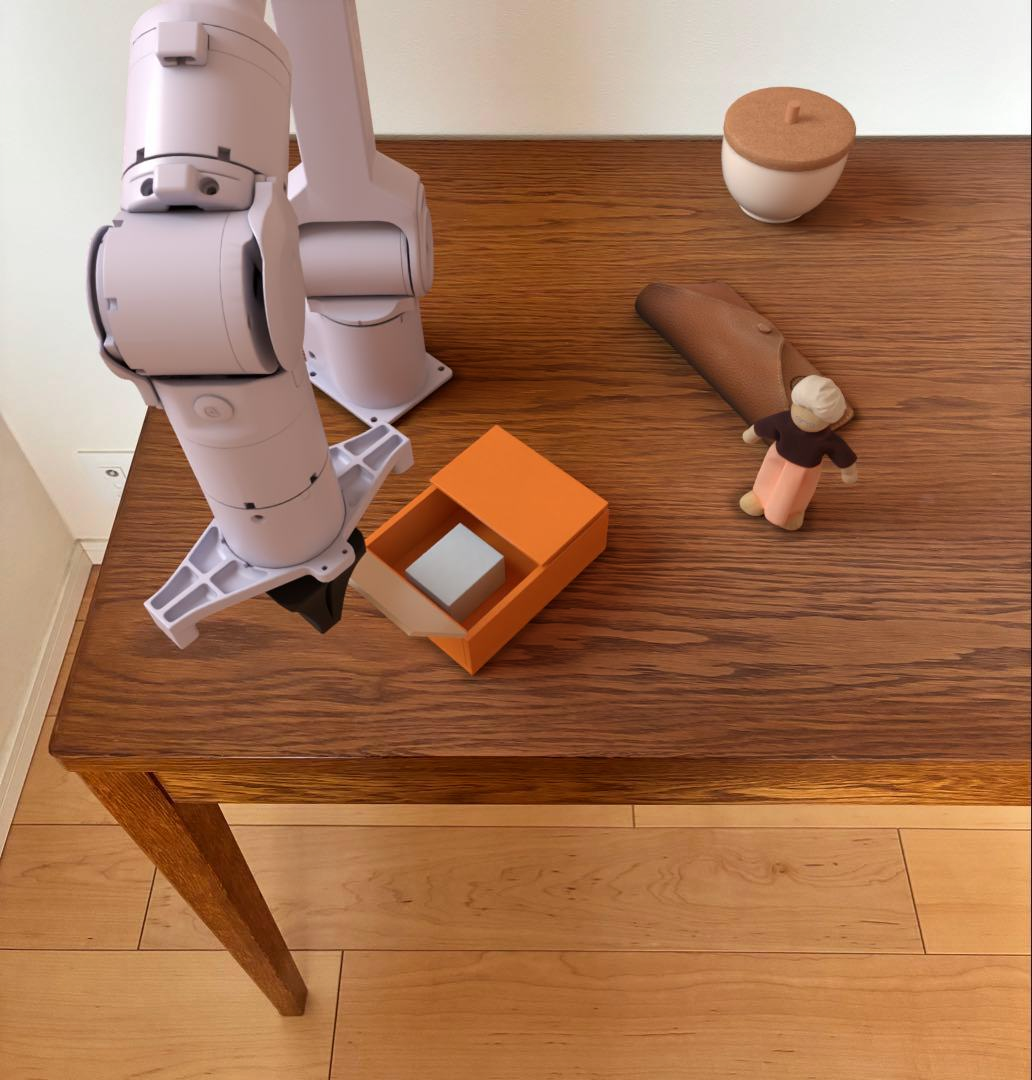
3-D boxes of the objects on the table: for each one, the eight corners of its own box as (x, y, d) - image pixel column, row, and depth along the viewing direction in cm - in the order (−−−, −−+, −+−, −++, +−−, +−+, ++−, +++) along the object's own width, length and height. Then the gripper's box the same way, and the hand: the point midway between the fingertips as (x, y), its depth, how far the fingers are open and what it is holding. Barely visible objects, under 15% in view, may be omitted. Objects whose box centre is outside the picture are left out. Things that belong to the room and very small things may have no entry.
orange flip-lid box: (472, 675, 62) (467, 635, 57) (365, 585, 66) (353, 540, 61) (606, 548, 67) (610, 502, 63) (499, 471, 71) (496, 423, 67)
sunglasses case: (865, 411, 73) (850, 375, 67) (792, 476, 74) (770, 446, 68) (714, 274, 82) (689, 232, 76) (651, 334, 83) (622, 297, 77)
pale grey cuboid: (452, 630, 63) (449, 606, 61) (409, 594, 65) (404, 569, 62) (506, 581, 65) (504, 556, 63) (463, 547, 67) (460, 522, 64)
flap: (467, 633, 57) (464, 638, 58) (355, 540, 61) (352, 544, 61) (412, 631, 52) (409, 636, 52) (292, 528, 56) (289, 533, 56)
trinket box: (713, 161, 91) (729, 63, 83) (831, 169, 90) (858, 70, 82) (710, 236, 85) (726, 138, 77) (836, 245, 84) (866, 146, 76)
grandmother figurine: (719, 517, 68) (752, 391, 58) (732, 476, 70) (765, 347, 60) (831, 548, 67) (885, 423, 56) (841, 505, 69) (894, 377, 58)
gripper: (179, 619, 38) (262, 756, 49) (446, 409, 44) (466, 574, 55) (77, 519, 41) (177, 670, 52) (341, 335, 47) (380, 506, 58)
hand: (320, 616), depth 54 cm, fingers closed
